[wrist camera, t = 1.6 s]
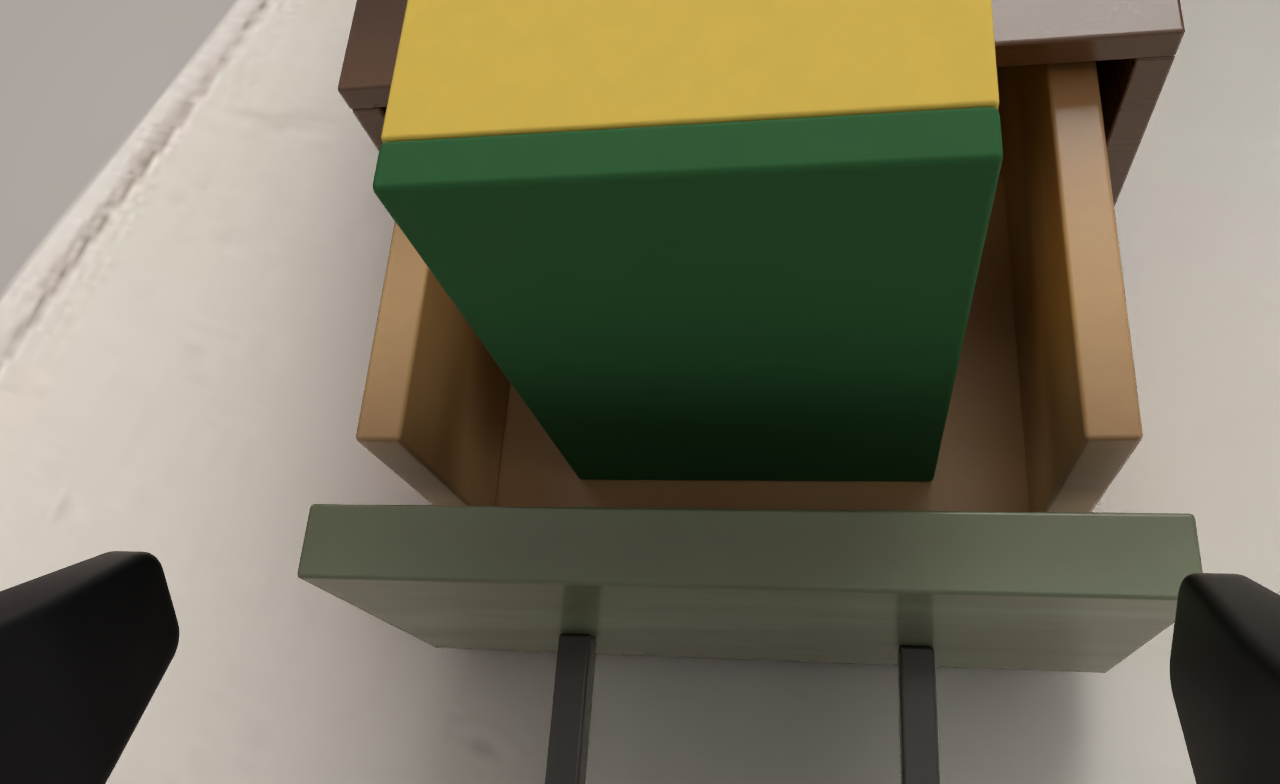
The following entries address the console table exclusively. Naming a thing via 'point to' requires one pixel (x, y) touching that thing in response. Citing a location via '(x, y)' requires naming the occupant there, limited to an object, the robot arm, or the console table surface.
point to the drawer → (795, 488)
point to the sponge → (706, 220)
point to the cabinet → (1024, 35)
